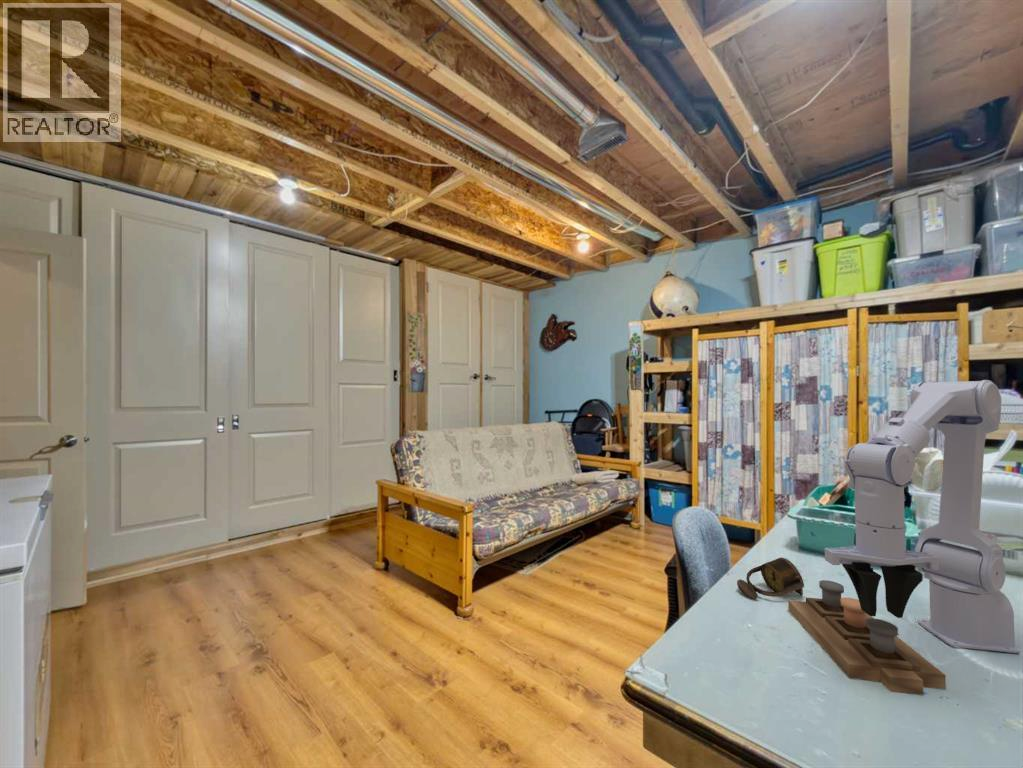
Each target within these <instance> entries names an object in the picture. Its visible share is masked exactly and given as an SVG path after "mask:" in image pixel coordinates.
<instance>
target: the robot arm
mask: <svg viewBox="0 0 1023 768" xmlns="http://www.w3.org/2000/svg"><path fill="white" fill-rule="evenodd" d="M906 410H907V411H906V412H905V413H904V414H903V416H902V417H892V418H890V419H889V420H888V421H887V422H885V424H884V425H883V426H882V427H881V428H880V429H879V430H878V431H877V432H875V434H874V435H873V436H871V438H870V439H869V440H867V441H866V442H859V443H856V444H855V445H852V446H851V447H850V448H849V449H848V451H846V452H847V453H846V457H845V460H844V467H845V471H846V473H847V475H848V477H849V486H850V488H851V490H853V491H854V519H855V520H854V522H855V545H853V546H841V547H824V561H826V562H827V563H829V564H831V565H832V566H840V565H842V567H843V568H844V570H845V571H846V573H847V575H848V577H849V579H850V580H851V583H852V585H853V587H854V590H855V592H856V595H857V600H859V602H860V606H861V610H862V611H864V612H865V613H867V614H868V615H869V616H872V617H876V616H877V609H878V608H877V607H878V606H877V605H878V603H877V602H878V601H877V597H878V589H879V585H880V581H881V578H882V577H883V578H882V579H883V582H884V589H885V591H884V592H885V593H884V594H885V606H886V607H885V608H886V610H887V612H888V613H889V614H890V615H893V616H894V617H896V618H898V619H903V616H904V612H905V610H906V607H907V604H908V603H909V600H910V597H911V595H912V594H913V593H914V591H915V589H916V588H917V587H918V586H919V585H920V584H921V583H922V582H923V579H927V580H928V583H929V585H928V586H929V612H930V613H929V620H928V619H916V623H917V624H919V625H920V626H921V627H923V628H924V629H926V630H928V631H929V632H930V633H932V634H933V635H935V636H936V637H938V638H939V639H940V640H942V641H943V642H945V643H946V644H947V645H949V646H952V647H953V648H962V649H964V648H965V649H972V650H973V649H974V650H984V651H993V652H994V651H995V652H1005V653H1015V654H1019V653H1020V651H1021V650H1020V649H1018V648H1017V647H1016V646H1015V644H1016V643H1015V640H1016V639H1015V615H1014V612H1015V611H1014V609H1013V606H1012V605H1013V604H1012V603H1011V601H1010V599H1009V598H1008V597H1007V595H1006V594H1005V593H1004V592H1002V591H1001V590H1002V588H1003V586H1004V585H1005V581H1006V577H1007V576H1006V572H1007V571H1006V566H1005V562H1004V551H1003V548H1002V546H1000V545H999V543H997V542H996V541H995V540H993V539H992V538H990V537H989V536H988V535H986V534H985V533H984V532H982V531H981V530H980V522H981V521H980V520H981V508H982V507H981V506H982V505H981V503H982V489H983V488H982V487H983V476H984V474H983V472H984V458H985V457H984V456H985V444H986V438H987V434H991V433H993V432H996V431H998V430H999V427H1000V423H1001V416H1002V396H1001V393H1000V390H999V387H998V386H997V385H996V383H994V382H993V381H992V380H989V379H982V380H975V381H974V380H971V381H969V380H968V381H967V380H963V381H931V382H928V381H918V382H917V383H916V384H915V385H914V386H913V387H912V389H911V391H910V406H909V407H908V409H906ZM931 429H934V430H938V431H940V432H941V433H942V434H943V436H944V443H943V444H944V446H943V459H942V460H943V461H942V472H941V483H940V484H941V486H940V501H939V512H938V513H939V514H938V515H939V516H938V522H937V523H936V524H933V525H930V526H928V527H925V528H923V529H921V530H920V533H919V535H918V536H919V537H918V541H917V543H916V545H915V547H914V550H906V527H905V526H906V525H905V524H906V522H905V521H906V520H905V517H906V516H905V485H906V484H908V483H909V482H910V481H911V479H912V476H913V472H914V467H915V466H916V463H917V460H916V458H917V457H918V455H919V454H920V453H921V452H922V451H923V450H924V449H925V447H926V446H927V445H928V444H929V443H930V441H931V435H930V432H929V431H930V430H931ZM944 541H946V542H944ZM949 542H952V543H949ZM953 543H955V544H953ZM956 544H957V545H956ZM958 544H960V545H958ZM961 545H964V546H961ZM966 546H968V547H966ZM969 547H972V548H969ZM973 548H975V549H973ZM872 566H880V569H881V574H882V575H881V574H879V573H878V572H875V571H874V568H873V567H872ZM916 568H918V570H919V571H918V570H917V569H916ZM923 575H924V577H923Z"/></svg>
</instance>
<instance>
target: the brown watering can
mask: <svg viewBox="0 0 1023 768" xmlns="http://www.w3.org/2000/svg"><path fill="white" fill-rule="evenodd" d="M757 572H760V573H761V576H762V579H763V581H764V583H765V584H766V586H767V587H768V588H769V590H771V591H768V590H763V589H762V588H761V589H760V588H759V587H757V586H755V585H754V584H753V582H751V580H750V578H751V576H752V575H753V574H755V573H757ZM736 585H737V588H738V590H739V591H740V592H741V594H742V595H744V596H745V597H747V598H750V599H753V600H755V599H758V597H759V596H758V594H759V595H762V596H765V597H766V596H767V597H773V598H777V597H782V596H785V595H788V594H790V593H792V592H795V593H796V594H798V596H800V597H804V592H803V589H804V587H805V583H804V580H803V577H802V575H801V573H800V572H799V569H797V566H796V565H795V564H794V563H793V562H791V561H790V559H787V558H786V557H785V558H784V557H782V556H781V557H778V558H776V559H773V560H771V561H767V562H765V563H763V564H761V565H759V566H756V567H754V568H751V569H749V570H748V572H747V573H746V581H745V580H743V579H738V580H736Z"/></svg>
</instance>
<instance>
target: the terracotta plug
mask: <svg viewBox="0 0 1023 768" xmlns="http://www.w3.org/2000/svg"><path fill="white" fill-rule="evenodd" d="M841 606H842V607H844V622H845V623H847V624H848V625H851V626H854V627H858V628H864V627H865V612H864V611H862V610H861V606H860V602H859V599H858V598H852V597H841Z"/></svg>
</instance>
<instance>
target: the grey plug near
mask: <svg viewBox="0 0 1023 768" xmlns="http://www.w3.org/2000/svg"><path fill="white" fill-rule="evenodd" d="M866 626H867V628H868V629H869V630H870V645H871V646H872V647H873V648H875V649H877V650H879V651H882V652H886V653H894V652H895V640H894V637H895V636H897V637H898V636H899V629H898V626H896V625H895V624H894V623H892V622H889V621H887V620H884V619H879V618H874V617H873V618H869V619H867V620H866Z"/></svg>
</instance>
